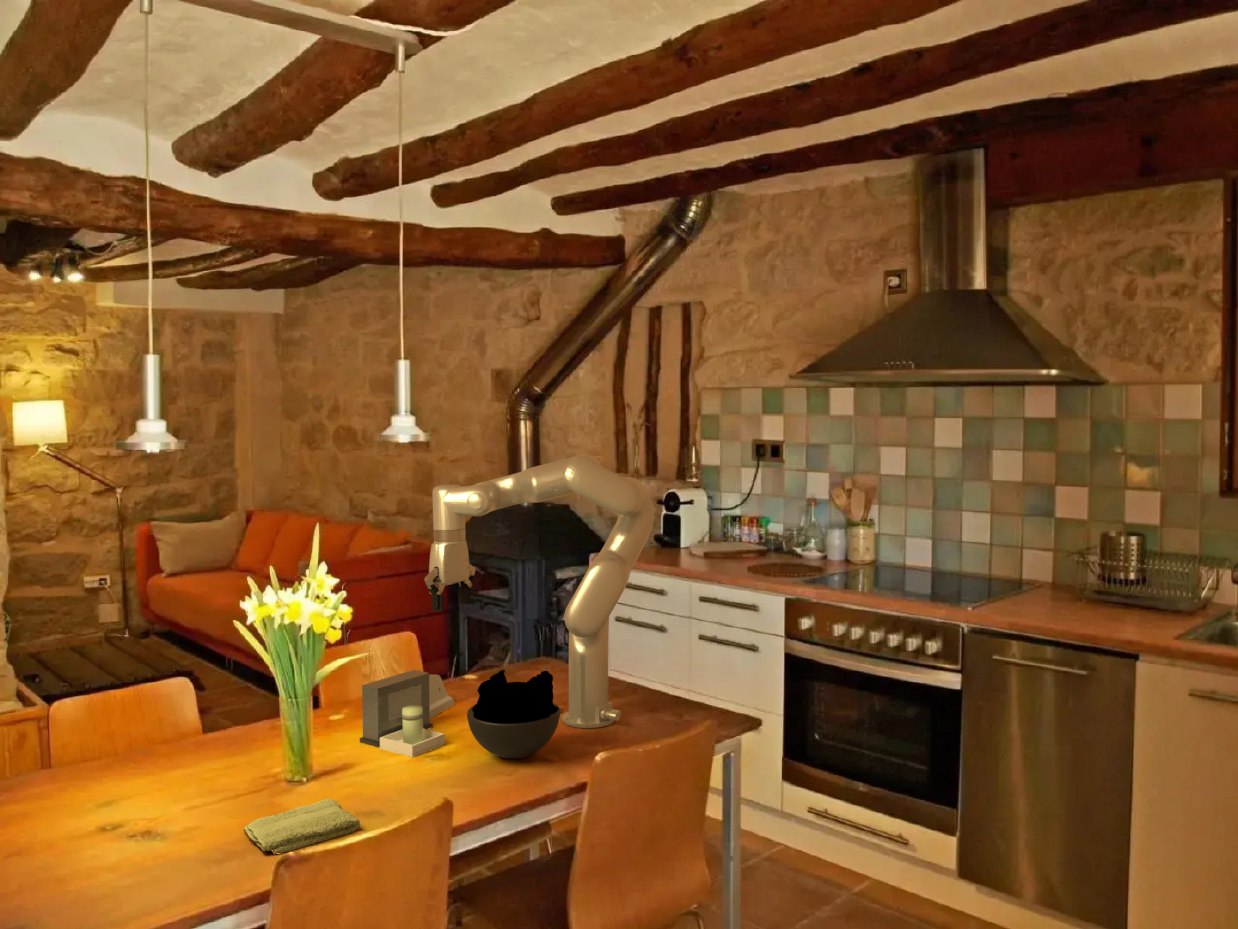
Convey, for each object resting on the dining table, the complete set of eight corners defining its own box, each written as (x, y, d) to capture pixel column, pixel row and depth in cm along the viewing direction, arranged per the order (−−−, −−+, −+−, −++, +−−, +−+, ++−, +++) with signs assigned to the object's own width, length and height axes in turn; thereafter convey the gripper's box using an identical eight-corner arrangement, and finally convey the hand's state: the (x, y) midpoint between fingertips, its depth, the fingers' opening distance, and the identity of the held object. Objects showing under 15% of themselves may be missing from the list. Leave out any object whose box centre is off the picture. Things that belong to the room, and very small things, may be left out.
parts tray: (444, 744, 229) (444, 733, 229) (412, 757, 221) (412, 746, 221) (412, 736, 235) (412, 726, 235) (379, 748, 227) (379, 737, 226)
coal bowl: (448, 763, 217) (448, 675, 216) (499, 736, 235) (498, 655, 234) (531, 778, 209) (530, 687, 208) (576, 748, 227) (576, 664, 226)
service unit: (432, 727, 242) (432, 672, 241) (378, 747, 228) (377, 689, 227) (414, 723, 245) (413, 669, 244) (359, 742, 231) (358, 685, 230)
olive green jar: (428, 742, 229) (427, 707, 228) (413, 748, 225) (412, 712, 224) (413, 739, 231) (412, 704, 231) (398, 745, 227) (397, 709, 227)
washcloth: (239, 835, 182) (239, 818, 182) (334, 811, 193) (334, 794, 193) (265, 861, 172) (264, 842, 172) (364, 834, 183) (364, 816, 183)
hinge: (421, 723, 244) (408, 683, 245) (405, 728, 246) (392, 688, 247) (455, 704, 260) (443, 666, 261) (440, 709, 262) (428, 671, 262)
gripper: (460, 531, 256) (462, 599, 257) (412, 540, 241) (415, 612, 242) (484, 533, 252) (486, 602, 253) (437, 541, 237) (439, 615, 238)
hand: (451, 607), depth 247 cm, fingers open, 9 cm apart
